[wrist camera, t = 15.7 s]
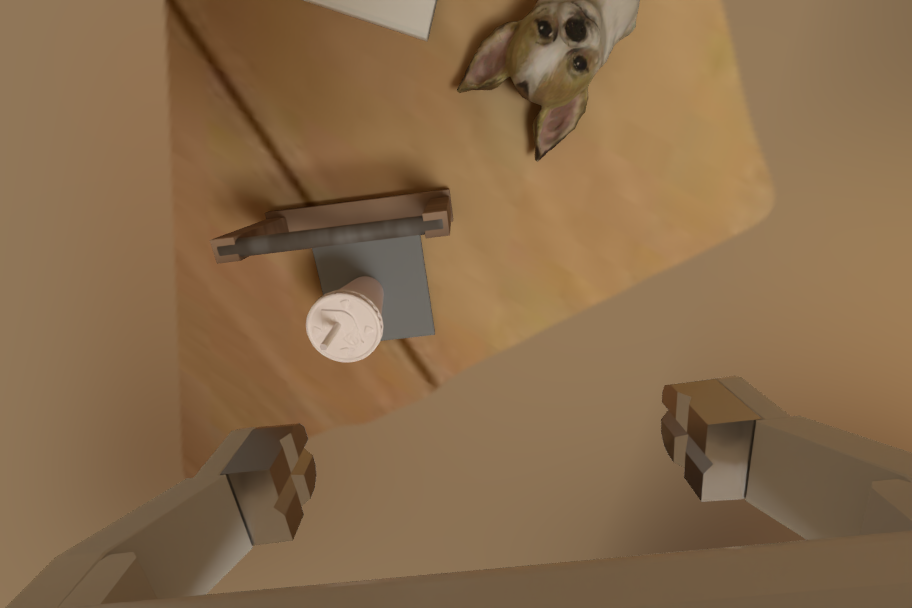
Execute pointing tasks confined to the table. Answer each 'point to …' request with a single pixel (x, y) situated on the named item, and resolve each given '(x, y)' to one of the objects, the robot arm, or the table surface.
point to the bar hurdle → (339, 225)
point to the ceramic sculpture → (552, 59)
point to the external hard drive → (388, 13)
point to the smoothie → (348, 320)
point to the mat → (384, 280)
